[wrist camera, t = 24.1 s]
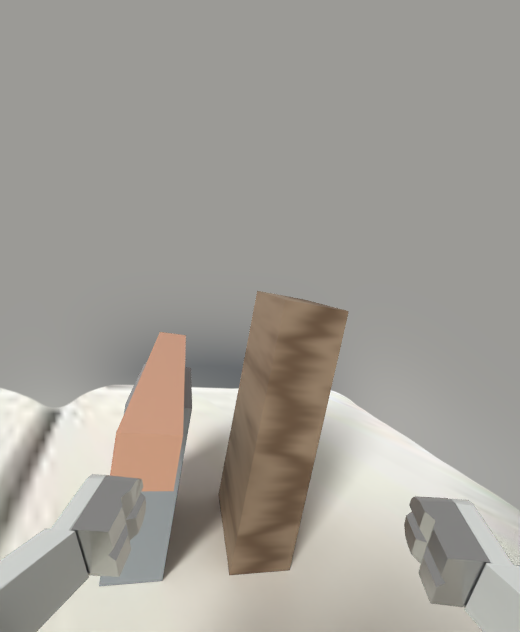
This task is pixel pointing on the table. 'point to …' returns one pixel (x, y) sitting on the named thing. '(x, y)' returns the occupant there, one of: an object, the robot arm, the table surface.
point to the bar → (154, 419)
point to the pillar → (277, 429)
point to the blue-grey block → (154, 518)
